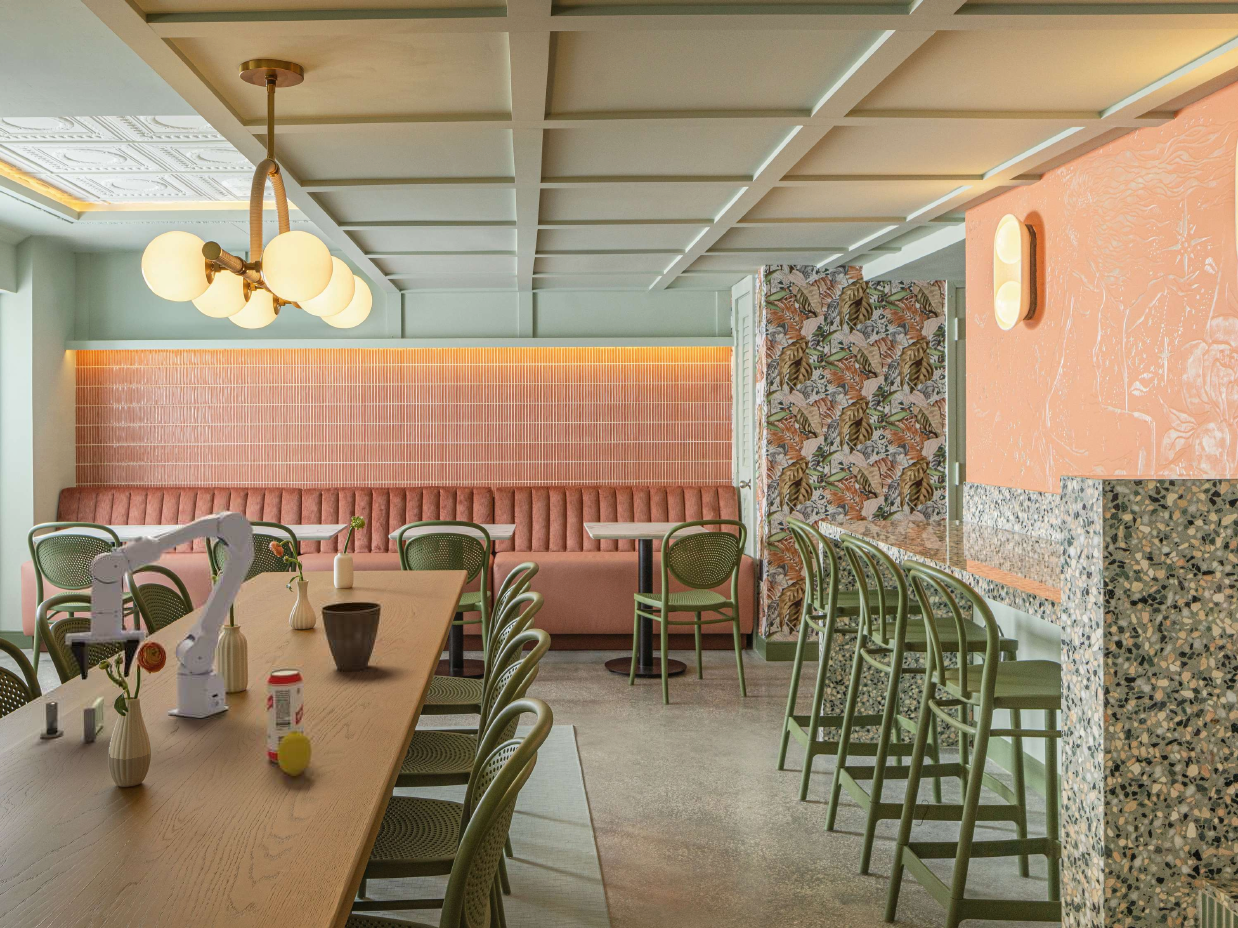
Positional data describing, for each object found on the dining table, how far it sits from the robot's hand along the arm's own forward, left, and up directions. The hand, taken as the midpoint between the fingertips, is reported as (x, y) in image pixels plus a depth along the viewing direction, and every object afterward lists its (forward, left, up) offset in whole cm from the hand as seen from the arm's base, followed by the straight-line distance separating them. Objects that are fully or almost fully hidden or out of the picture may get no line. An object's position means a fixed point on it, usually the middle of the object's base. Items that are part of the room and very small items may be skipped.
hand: (105, 677), depth 196 cm
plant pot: (-15, -60, -10) cm, 63 cm away
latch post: (+4, +9, -10) cm, 14 cm away
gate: (-3, +5, -10) cm, 11 cm away
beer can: (-49, +4, -10) cm, 50 cm away
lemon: (-57, +11, -10) cm, 59 cm away
